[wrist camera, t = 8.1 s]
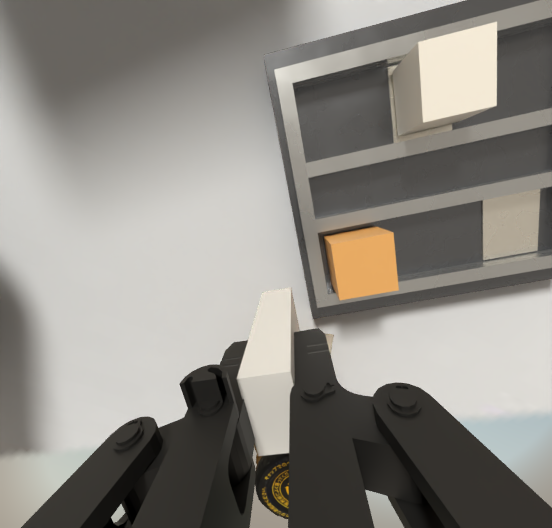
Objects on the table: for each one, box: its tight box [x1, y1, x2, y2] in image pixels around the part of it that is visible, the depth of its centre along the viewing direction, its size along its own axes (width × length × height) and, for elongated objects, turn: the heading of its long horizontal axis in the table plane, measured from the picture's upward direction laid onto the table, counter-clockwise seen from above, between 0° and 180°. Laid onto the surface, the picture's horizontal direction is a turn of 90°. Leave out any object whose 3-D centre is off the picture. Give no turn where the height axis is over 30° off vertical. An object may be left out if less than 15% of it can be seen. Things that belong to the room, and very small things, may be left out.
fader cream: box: [393, 22, 497, 136], centre depth 16 cm, size 4×4×4 cm
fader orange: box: [324, 226, 399, 300], centre depth 19 cm, size 4×4×4 cm
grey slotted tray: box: [263, 0, 552, 319], centre depth 19 cm, size 21×20×3 cm
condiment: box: [254, 334, 334, 519], centre depth 20 cm, size 7×8×12 cm
